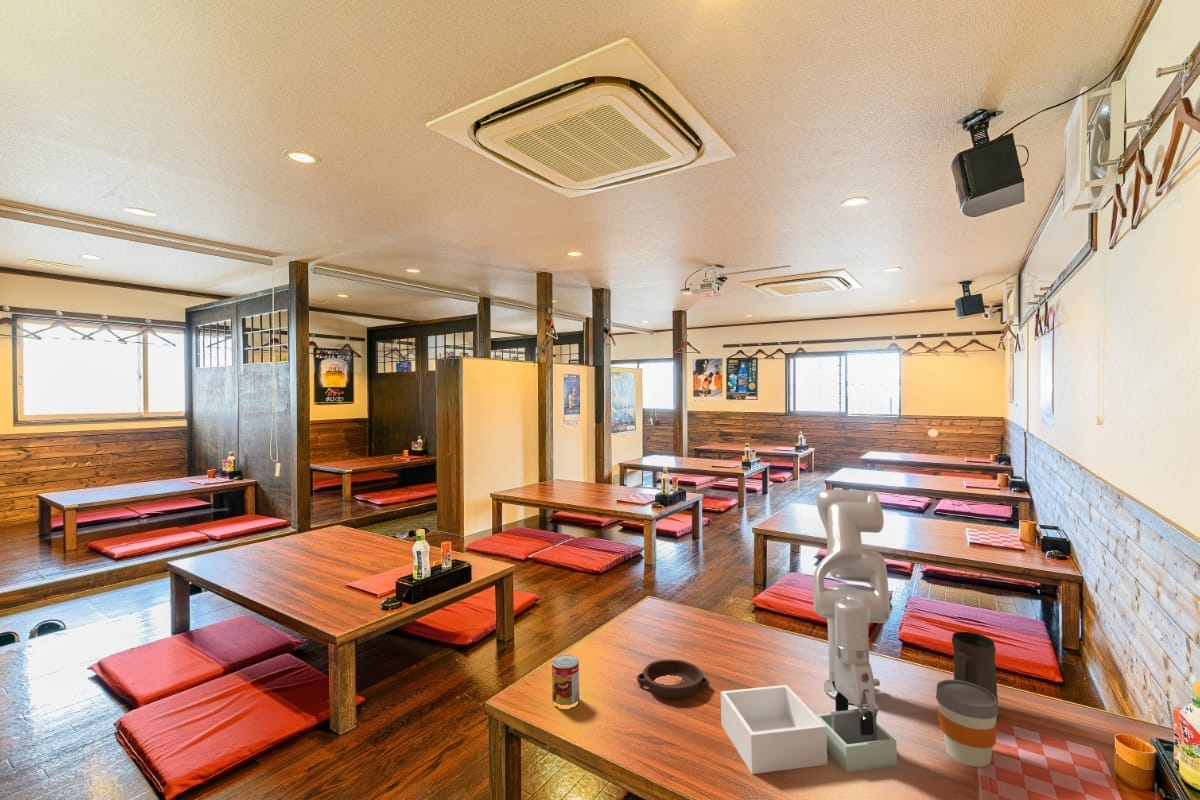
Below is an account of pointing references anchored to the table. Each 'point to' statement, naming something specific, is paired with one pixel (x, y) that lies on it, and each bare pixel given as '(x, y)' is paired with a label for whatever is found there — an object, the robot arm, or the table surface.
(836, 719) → the small crate
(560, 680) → the canned food
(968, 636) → the beer stein
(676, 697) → the dish
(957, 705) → the reusable coffee cup
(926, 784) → the table surface
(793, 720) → the big crate
